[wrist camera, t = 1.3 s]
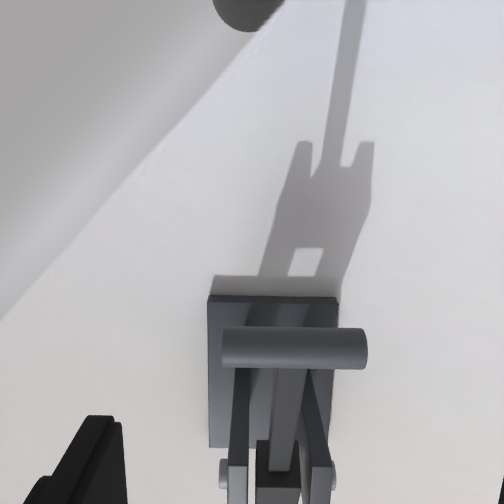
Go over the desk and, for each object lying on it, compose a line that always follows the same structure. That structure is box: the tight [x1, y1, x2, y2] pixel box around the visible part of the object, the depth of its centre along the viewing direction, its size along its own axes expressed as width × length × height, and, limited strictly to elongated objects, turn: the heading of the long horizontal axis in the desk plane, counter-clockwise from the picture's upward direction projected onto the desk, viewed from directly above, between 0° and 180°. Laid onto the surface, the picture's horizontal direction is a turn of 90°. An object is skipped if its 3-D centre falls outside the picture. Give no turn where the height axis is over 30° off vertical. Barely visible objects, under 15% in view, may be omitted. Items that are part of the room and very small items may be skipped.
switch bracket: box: [207, 295, 339, 504], centre depth 27 cm, size 12×9×12 cm
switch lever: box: [221, 326, 368, 504], centre depth 19 cm, size 13×5×2 cm, turn 179°
